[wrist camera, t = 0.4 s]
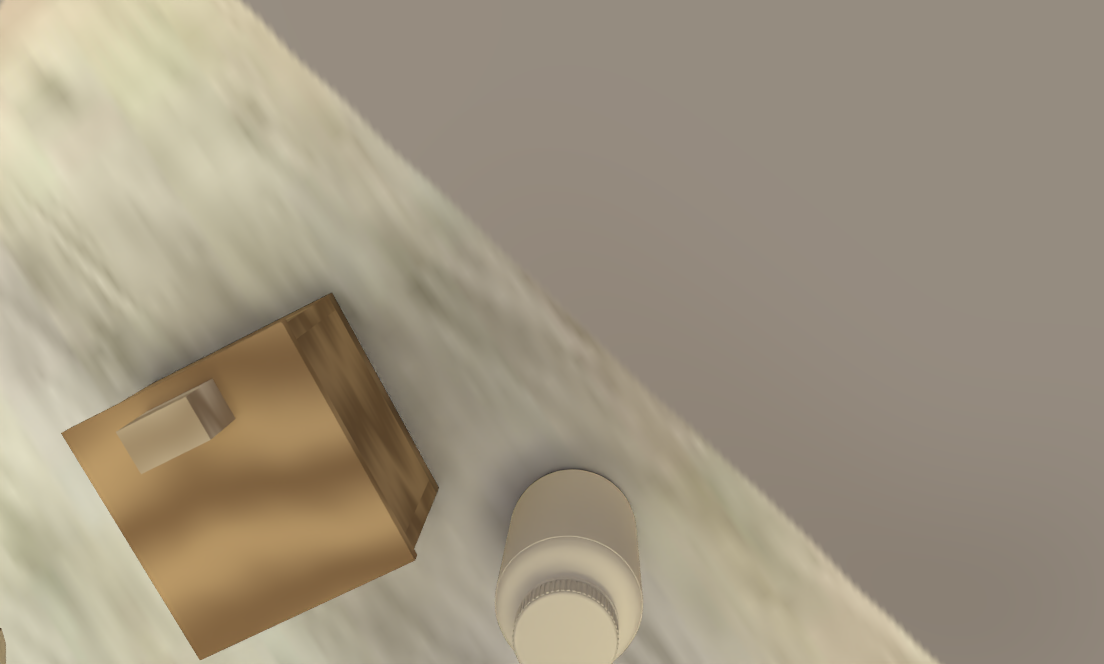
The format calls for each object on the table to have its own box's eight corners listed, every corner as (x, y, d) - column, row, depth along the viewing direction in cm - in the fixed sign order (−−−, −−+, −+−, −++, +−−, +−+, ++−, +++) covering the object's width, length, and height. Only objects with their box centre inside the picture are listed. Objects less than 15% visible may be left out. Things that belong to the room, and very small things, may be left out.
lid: (417, 554, 55) (402, 590, 51) (204, 653, 57) (174, 696, 53) (285, 319, 53) (259, 336, 49) (67, 429, 55) (24, 455, 50)
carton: (438, 488, 65) (412, 552, 55) (262, 571, 67) (206, 648, 57) (331, 292, 63) (284, 323, 53) (151, 383, 64) (73, 430, 55)
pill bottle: (489, 494, 65) (461, 602, 50) (606, 447, 64) (612, 543, 50) (539, 601, 67) (525, 737, 52) (654, 557, 66) (673, 682, 51)
